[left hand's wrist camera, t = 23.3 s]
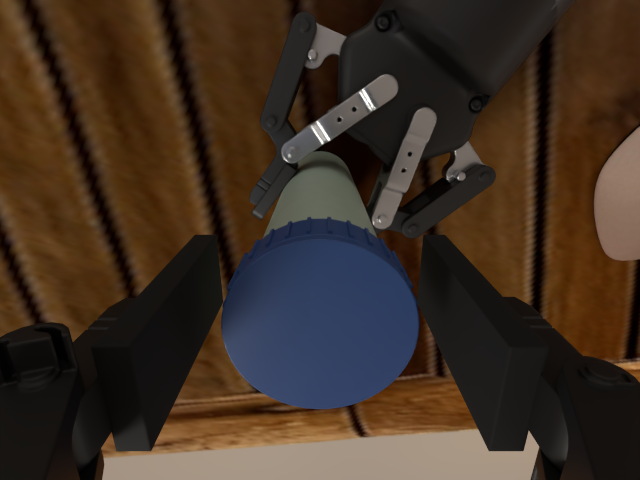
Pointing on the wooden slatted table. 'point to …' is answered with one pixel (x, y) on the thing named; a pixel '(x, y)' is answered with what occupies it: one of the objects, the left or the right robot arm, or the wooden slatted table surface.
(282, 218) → the jar
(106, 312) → the left robot arm
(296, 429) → the wooden slatted table surface
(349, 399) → the lid
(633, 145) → the anatomical model
